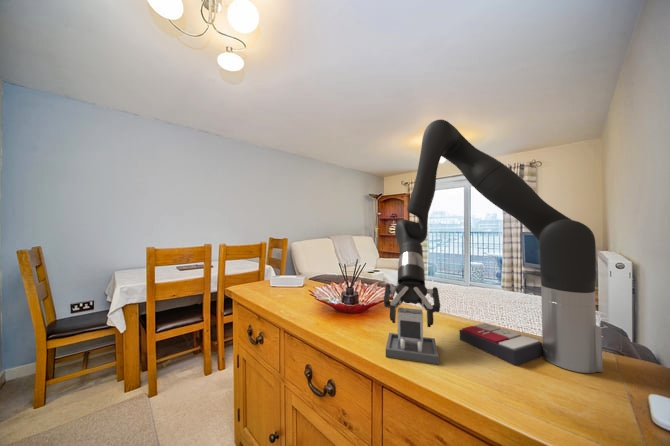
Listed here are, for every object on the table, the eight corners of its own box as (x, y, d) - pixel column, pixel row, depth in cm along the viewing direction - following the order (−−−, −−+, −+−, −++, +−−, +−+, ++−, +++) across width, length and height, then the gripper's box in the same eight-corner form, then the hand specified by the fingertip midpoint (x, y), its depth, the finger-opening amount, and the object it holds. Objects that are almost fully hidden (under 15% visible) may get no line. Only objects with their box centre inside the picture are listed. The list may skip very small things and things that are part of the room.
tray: (434, 345, 66) (434, 330, 66) (438, 364, 57) (438, 346, 57) (389, 339, 70) (389, 324, 70) (385, 356, 60) (385, 340, 60)
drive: (422, 344, 65) (422, 309, 65) (423, 351, 61) (422, 314, 61) (398, 341, 66) (398, 307, 67) (397, 348, 62) (397, 312, 63)
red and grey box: (484, 321, 74) (542, 339, 61) (485, 336, 74) (544, 357, 60) (458, 327, 70) (515, 347, 56) (459, 342, 70) (516, 367, 56)
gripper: (385, 262, 73) (381, 313, 62) (437, 264, 69) (442, 320, 58) (387, 276, 78) (383, 327, 67) (436, 279, 74) (440, 333, 62)
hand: (411, 323), depth 62 cm, fingers open, 8 cm apart
